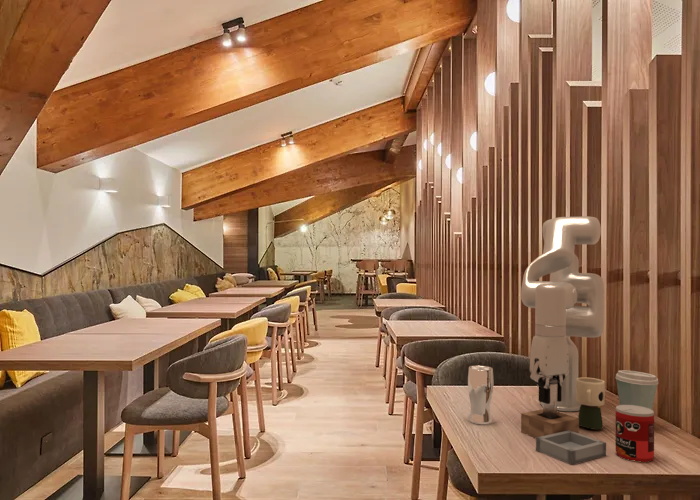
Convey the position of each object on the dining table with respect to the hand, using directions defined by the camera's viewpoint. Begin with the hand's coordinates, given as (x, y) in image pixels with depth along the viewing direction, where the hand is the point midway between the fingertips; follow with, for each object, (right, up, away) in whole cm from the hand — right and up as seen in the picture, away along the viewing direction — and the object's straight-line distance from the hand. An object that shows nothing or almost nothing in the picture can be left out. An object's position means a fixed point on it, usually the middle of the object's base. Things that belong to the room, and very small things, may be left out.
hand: (550, 400), depth 137 cm
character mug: (+13, -9, +6) cm, 17 cm away
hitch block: (0, -9, -1) cm, 9 cm away
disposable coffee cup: (+27, -10, +8) cm, 30 cm away
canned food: (+14, -9, -15) cm, 22 cm away
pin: (0, -6, 0) cm, 6 cm away
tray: (0, -9, -13) cm, 16 cm away
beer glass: (-16, -9, +10) cm, 21 cm away
